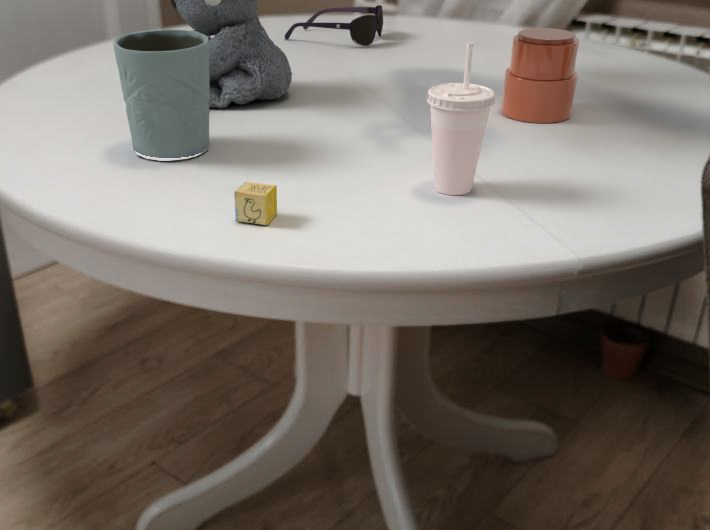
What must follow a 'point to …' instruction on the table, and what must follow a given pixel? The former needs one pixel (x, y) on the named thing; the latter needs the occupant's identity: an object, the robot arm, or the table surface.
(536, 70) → the upturned cup
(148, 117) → the green embossed cup
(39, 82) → the table surface
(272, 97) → the koala plush
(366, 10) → the sunglasses
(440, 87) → the smoothie
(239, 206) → the alphabet block
